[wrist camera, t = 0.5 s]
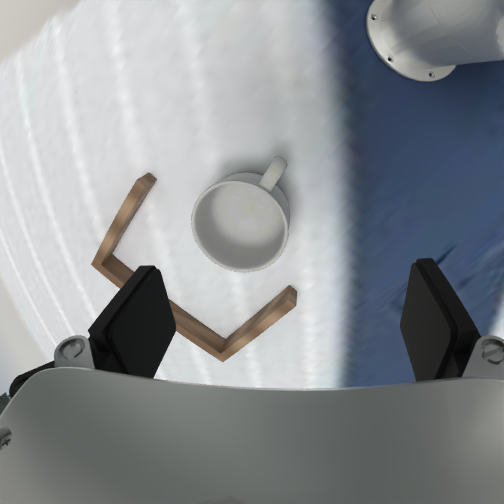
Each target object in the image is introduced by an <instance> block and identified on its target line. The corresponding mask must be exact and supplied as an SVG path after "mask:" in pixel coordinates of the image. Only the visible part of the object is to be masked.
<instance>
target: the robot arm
mask: <svg viewBox="0 0 504 504" xmlns="http://www.w3.org/2000/svg"><path fill="white" fill-rule="evenodd" d="M371 17H373V18H374V19H375V20H372V19H371ZM366 30H367V35H368V38H369V41H370V43H371V45H372V47H373V49H374V51H375V52H376V53H377V55H378V56H379V58H380V59H381V60H382V61H383V62H384V63H385V64H386V65H387V66H388V67H390V68H391V69H392V70H393V71H395V72H396V73H398V74H400V75H402V76H403V77H406V78H409V79H411V80H416V81H436V80H439V79H442V78H444V77H446V76H447V75H449V74H450V73H451V72H452V71H453V70H454V69H455V67H456V65H460V64H468V63H478V62H488V61H499V60H504V0H374V1H373V3H372V4H371V6H370V7H369V10H368V12H367V16H366ZM387 58H390V59H391V61H388V59H387ZM429 73H430V75H431V76H429ZM400 328H401V333H402V336H403V339H404V342H405V345H406V348H407V351H408V354H409V358H410V361H411V364H412V368H413V371H414V374H415V378H416V382H411V383H402V384H390V385H378V386H365V387H347V388H316V389H280V388H249V387H232V386H218V385H206V384H195V383H185V382H176V381H168V380H161V379H153V378H154V376H155V373H156V371H157V369H158V367H159V365H160V363H161V361H162V359H163V357H164V355H165V353H166V350H167V348H168V346H169V344H170V342H171V340H172V338H173V336H174V334H175V332H176V322H175V319H174V316H173V312H172V309H171V306H170V302H169V299H168V296H167V292H166V289H165V285H164V282H163V278H162V275H161V272H160V270H159V269H157V268H156V267H155V266H154V265H152V266H139V267H138V269H137V270H136V271H135V272H134V273H133V274H132V276H131V277H130V278H129V279H128V280H127V282H126V283H125V284H124V285H123V287H122V288H121V289H120V290H119V291H118V293H117V294H116V295H115V296H114V298H113V299H112V300H111V301H110V303H109V304H108V305H107V306H106V308H105V309H104V310H103V311H102V313H101V314H100V315H99V316H98V318H97V319H96V320H95V322H94V323H93V324H92V325H91V327H90V328H89V329H88V332H89V334H90V337H89V338H88V339H87V338H86V337H85V336H81V335H75V336H72V337H69V338H67V339H65V340H63V341H62V342H61V343H60V344H59V345H58V346H57V348H56V349H55V352H54V361H52V362H49V363H47V364H45V365H43V366H40V367H38V368H36V369H33V370H31V371H28V372H26V373H24V374H22V375H19V376H17V377H16V378H15V379H14V381H13V382H12V384H11V386H10V390H9V395H8V394H7V393H4V394H3V395H1V396H0V504H504V340H503V339H502V338H500V337H497V336H493V335H487V336H483V337H481V336H480V334H479V332H478V330H477V328H476V326H475V324H474V323H473V321H472V319H471V317H470V316H469V314H468V312H467V311H466V309H465V307H464V306H463V304H462V302H461V301H460V299H459V298H458V296H457V294H456V293H455V291H454V290H453V288H452V287H451V285H450V283H449V282H448V280H447V279H446V277H445V276H444V274H443V273H442V271H441V270H440V268H439V267H438V266H437V264H436V263H435V261H434V260H433V259H432V258H422V259H417V260H416V263H412V265H411V270H410V276H409V282H408V288H407V293H406V298H405V303H404V308H403V313H402V317H401V322H400Z"/></svg>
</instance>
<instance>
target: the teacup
mask: <svg viewBox="0 0 504 504" xmlns="http://www.w3.org/2000/svg"><path fill="white" fill-rule="evenodd" d="M286 167H287V161H286V160H284V159H283V158H281V157H278V156H276V157H275V158H274V159H273V161H272V162H271V164H270V166H269V167H268V169H267V170H266V172H265V173H264V175H263V176H262V175H259V174H255V173H246V172H243V173H237V174H233V175H230V176H228V177H226V178H224V179H222V180H220V181H219V182H217V183H216V184H214V185H212V186H211V187H209V188H208V189H207V190H206V191H204V192H203V193H202V194H201V196H200V197H199V198H198V199H197V201H196V203H195V205H194V208H193V211H192V216H191V226H192V232H193V235H194V238H195V241H196V243H197V244H198V246H199V248H200V249H201V250H202V252H203V253H204V254H205V255H206V256H207V257H208V258H209V259H210V260H211V261H213V262H214V263H215V264H217V265H219V266H221V267H223V268H225V269H227V270H231V271H235V272H254V271H258V270H261V269H264V268H266V267H268V266H269V265H271V264H272V263H274V262H275V261H276V260H277V259H278V258H279V257H280V256H281V254H282V252H283V250H284V248H285V246H286V243H287V239H288V230H289V223H290V211H289V205H288V202H287V199H286V197H285V195H284V194H283V192H282V191H281V189H280V188H279V187H278V186H277V185H276V183H277V181H278V180H279V179H280V177H281V175H282V174H283V172H284V170H285V169H286Z"/></svg>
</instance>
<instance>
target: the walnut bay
mask: <svg viewBox="0 0 504 504" xmlns="http://www.w3.org/2000/svg"><path fill="white" fill-rule="evenodd" d="M156 180H157V179H156V178H154V177H153V176H152V175H151V174H149V173H148V174H146V175H144V176H143V177H141V178H139V179H137V180H136V182H135V184H134V185H133V187H132V189H131V191H130V192H129V194H128V196H127V197H126V199H125V201H124V203H123V204H122V206H121V208H120V210H119V212H118V213H117V215H116V217H115V219H114V221H113V223H112V224H111V226H110V228H109V230H108V232H107V234H106V236H105V238H104V240H103V242H102V244H101V246H100V248H99V250H98V252H97V254H96V256H95V258H94V260H93V262H92V264H91V265H92V266H93V267H94V268H95V269H97V270H98V271H99V272H100V273H101V274H103V275H104V276H105V277H106V278H107V279H109V280H110V281H111V282H112V283H114V284H115V285H116V286H117V287H119V288H120V289H121V288H122V287H123V285H124V284H125V283H126V282H127V280H128V279H129V278H130V277H131V276H132V274H133V273H134V272H133V271H132V270H130V269H129V268H128V267H127V266H126V265H124V264H123V263H122V262H121V261H119V260H118V259H117V258H116V257H115V256H113V255H112V253H113V251H114V249H115V247H116V246H117V244H118V242H119V240H120V239H121V237H122V235H123V233H124V232H125V230H126V228H127V227H128V225H129V223H130V221H131V220H132V218H133V216H134V215H135V213H136V212H137V210H138V208H139V207H140V205H141V203H142V202H143V200H144V199H145V197H146V195H147V194H148V192H149V191H150V189H151V188H152V186H153V185H154V183H155V181H156ZM296 301H297V291H296V290H295V289H293V288H292V287H291V286H290V285H289V286H288V287H287V288H286V289H285V290H284V291H282V292H281V293H280V294H279V295H278V296H277V297H275V298H274V299H273V300H272V301H271V302H270V303H268V304H267V305H266V306H265V307H264V308H263V309H261V310H260V311H259V312H258V313H257V314H255V315H254V316H253V317H252V318H251V319H249V320H248V321H247V322H246V323H245V324H243V325H242V326H241V327H240V328H239V329H237V330H236V331H235V332H234V333H233V334H231V335H230V336H229V337H228V338H226V339H224V338H222V337H221V336H219V335H218V334H216V333H215V332H214V331H212V330H211V329H209V328H208V327H206V326H205V325H204V324H202V323H201V322H199V321H198V320H197V319H195V318H194V317H192V316H191V315H190V314H188V313H187V312H185V311H184V310H183V309H181V308H180V307H179V306H177V305H176V304H175V303H173V302H172V301H171V300H169V302H170V306H171V309H172V312H173V316H174V319H175V322H176V331H177V332H178V333H180V334H181V335H183V336H184V337H186V338H187V339H189V340H190V341H191V342H193V343H194V344H196V345H197V346H199V347H200V348H202V349H203V350H205V351H206V352H208V353H209V354H211V355H212V356H214V357H215V358H217V359H219V360H220V361H222V362H224V361H225V360H227V359H228V358H229V357H231V356H232V355H233V354H235V353H236V352H237V351H239V350H240V349H241V348H243V347H244V346H245V345H247V344H248V343H249V342H251V341H252V340H253V339H255V338H256V337H257V336H259V335H260V334H261V333H263V332H264V331H265V330H266V329H268V328H269V327H270V326H272V325H273V324H274V323H275V322H277V321H278V320H279V319H280V318H282V317H283V316H284V315H285V314H287V313H288V312H289V311H290V310H292V309H293V308H294V307H295V306H296Z"/></svg>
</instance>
